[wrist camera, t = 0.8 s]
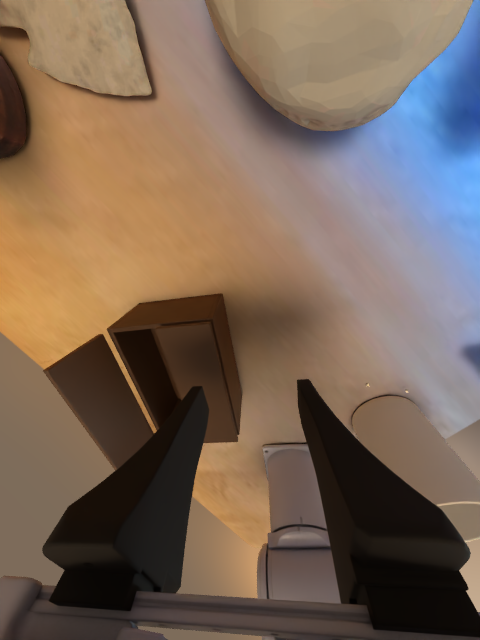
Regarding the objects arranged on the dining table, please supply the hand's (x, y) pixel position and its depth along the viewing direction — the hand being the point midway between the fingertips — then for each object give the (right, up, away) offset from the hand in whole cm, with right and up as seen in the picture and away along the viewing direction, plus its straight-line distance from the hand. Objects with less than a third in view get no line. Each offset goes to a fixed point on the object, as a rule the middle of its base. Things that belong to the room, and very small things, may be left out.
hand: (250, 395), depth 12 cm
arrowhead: (-14, +26, -1) cm, 29 cm away
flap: (-11, -4, +5) cm, 12 cm away
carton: (-6, +1, +12) cm, 13 cm away
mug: (+19, -9, +15) cm, 26 cm away
